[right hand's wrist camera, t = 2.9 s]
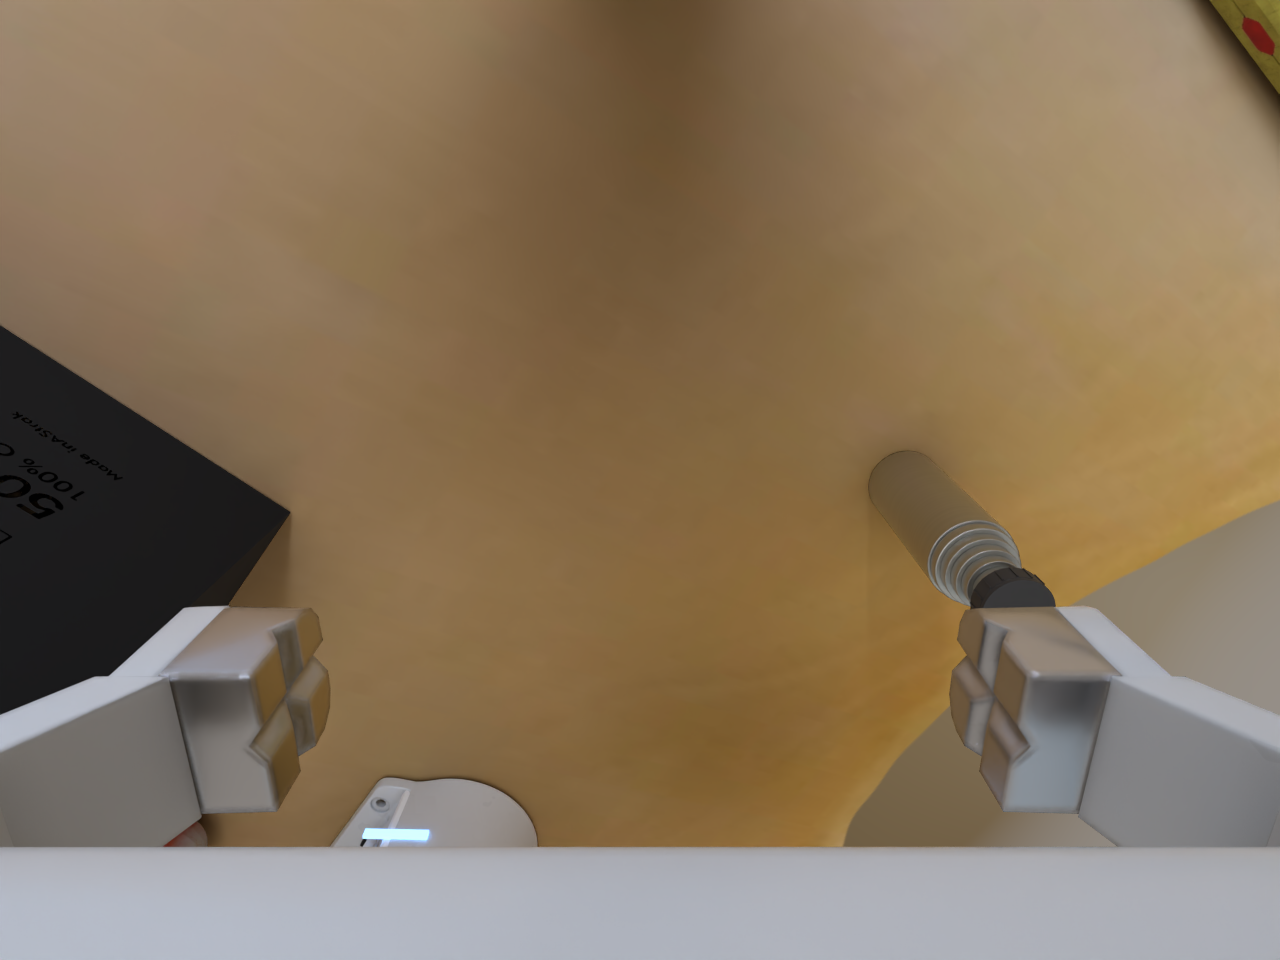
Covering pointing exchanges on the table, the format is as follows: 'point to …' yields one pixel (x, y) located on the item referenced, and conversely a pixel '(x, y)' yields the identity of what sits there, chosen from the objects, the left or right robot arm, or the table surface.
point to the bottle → (940, 524)
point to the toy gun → (1256, 31)
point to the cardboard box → (104, 528)
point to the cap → (1011, 590)
